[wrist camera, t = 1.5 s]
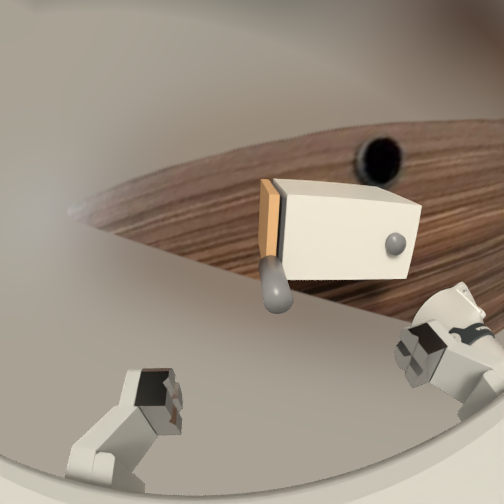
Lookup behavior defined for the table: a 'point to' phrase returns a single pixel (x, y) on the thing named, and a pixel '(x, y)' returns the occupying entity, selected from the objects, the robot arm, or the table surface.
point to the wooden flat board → (271, 253)
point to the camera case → (344, 231)
